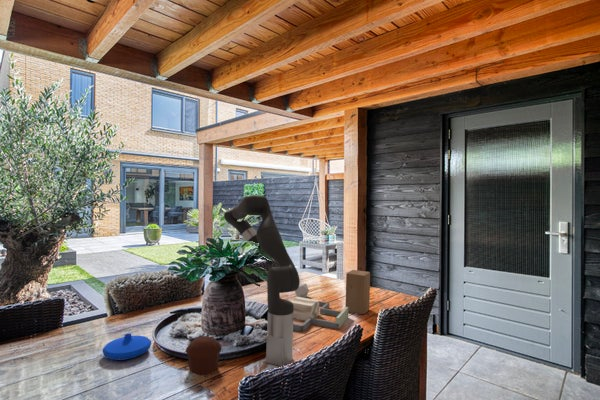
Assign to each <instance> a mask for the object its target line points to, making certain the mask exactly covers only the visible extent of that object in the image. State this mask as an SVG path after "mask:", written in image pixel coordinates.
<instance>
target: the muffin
mask: <svg viewBox="0 0 600 400" xmlns="http://www.w3.org/2000/svg"><path fill="white" fill-rule="evenodd" d="M222 347H223V346H222V344H221V343H220V342H219V340H217V339H216V338H215V337H212V336H207V335H205V336H200V337H196V338H195V339H193V340H192V341H191V342H190V343H189V344H188V345H187V347H186V349H185V353H186V354H187V359H188V367H189V371H191V374H192V375H197V376H205V375H209V374H211V373H213V372H216V369H217V368H218V366H219V365H218V364H219V359H220V355H221V351H222V349H223V348H222Z"/></svg>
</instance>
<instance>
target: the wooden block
mask: <svg viewBox="0 0 600 400" xmlns="http://www.w3.org/2000/svg"><path fill="white" fill-rule="evenodd" d="M345 275H346V276H345V278H346V279H345V304H344V305H345V307H348V313H350V312H351V314H355V313H357V315H361V314H364V315H365V314H366V313H367V312H368V311H369V310H370V298H371V297H370V295H371V294H370V293H371V272H370V271H367V270H366V271H364V270H359V269H358V270H356V269H352V270H349V271H348V272H346V274H345ZM345 307H344V308H345Z"/></svg>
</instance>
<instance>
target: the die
mask: <svg viewBox="0 0 600 400" xmlns="http://www.w3.org/2000/svg"><path fill="white" fill-rule="evenodd" d="M309 291H310V289H309V287H308V284H307V283H303V282H302V283H300V284H299V288H298V289H297V290H296V291H294V292H295V296H296V297H302V298H307V296H308V294H309Z"/></svg>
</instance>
